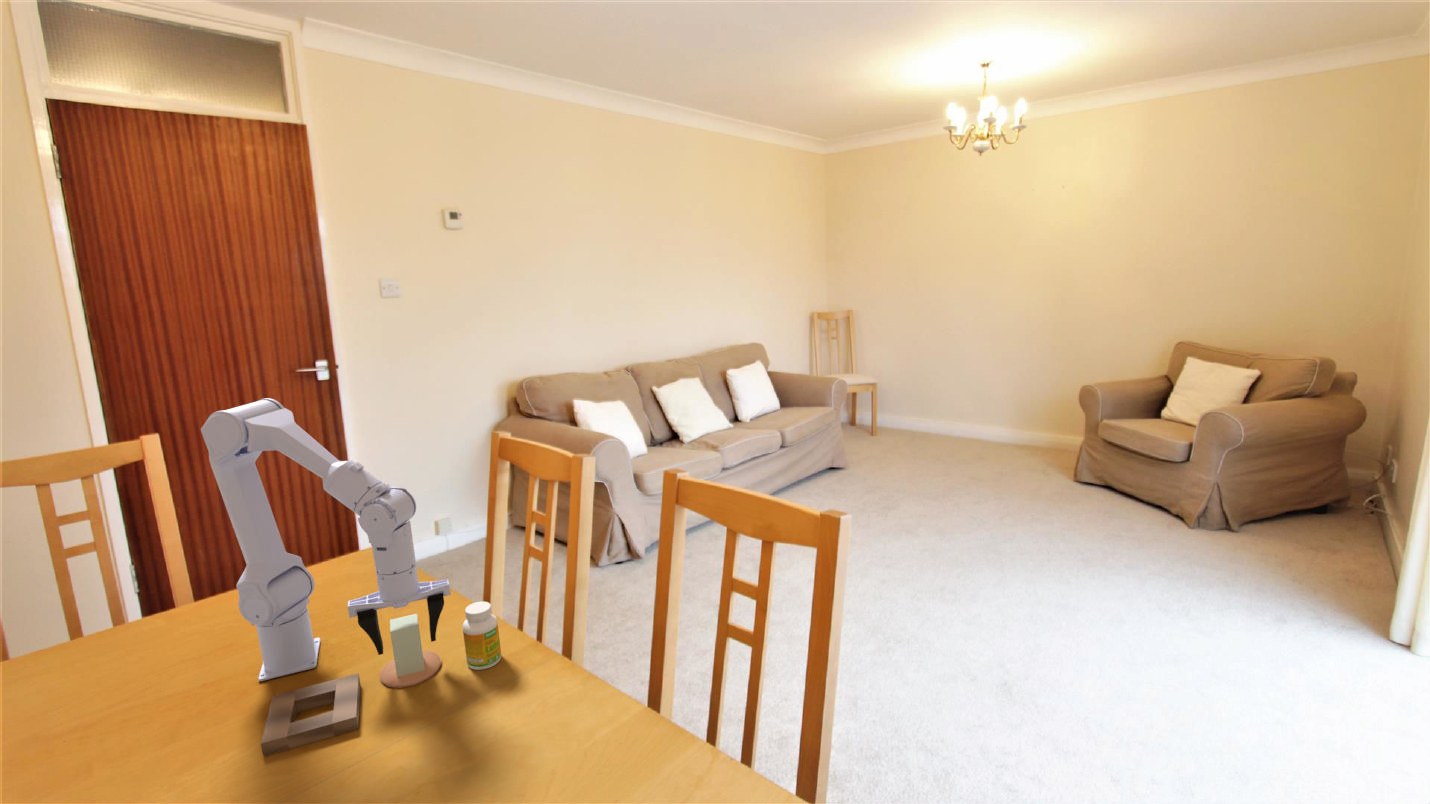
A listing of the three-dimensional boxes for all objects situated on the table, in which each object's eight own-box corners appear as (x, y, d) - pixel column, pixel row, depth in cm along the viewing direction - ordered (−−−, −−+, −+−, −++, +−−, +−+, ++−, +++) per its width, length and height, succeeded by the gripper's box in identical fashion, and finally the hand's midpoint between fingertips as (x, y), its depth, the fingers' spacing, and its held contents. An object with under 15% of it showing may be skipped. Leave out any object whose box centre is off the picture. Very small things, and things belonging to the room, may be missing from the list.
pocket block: (275, 707, 101) (273, 695, 101) (360, 684, 106) (358, 673, 106) (263, 756, 91) (260, 743, 91) (358, 729, 96) (356, 716, 95)
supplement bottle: (490, 672, 108) (484, 617, 106) (460, 669, 109) (453, 614, 107) (507, 653, 113) (501, 600, 111) (478, 650, 114) (472, 597, 112)
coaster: (380, 663, 111) (379, 660, 111) (438, 648, 115) (438, 645, 115) (380, 694, 103) (379, 691, 103) (443, 677, 107) (442, 674, 107)
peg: (396, 664, 110) (389, 619, 108) (423, 657, 112) (416, 613, 110) (397, 677, 106) (390, 631, 105) (424, 670, 108) (418, 625, 106)
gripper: (342, 588, 99) (355, 671, 102) (447, 566, 105) (457, 645, 108) (344, 569, 105) (357, 647, 108) (444, 549, 111) (453, 624, 114)
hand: (407, 644), depth 108 cm, fingers open, 7 cm apart
